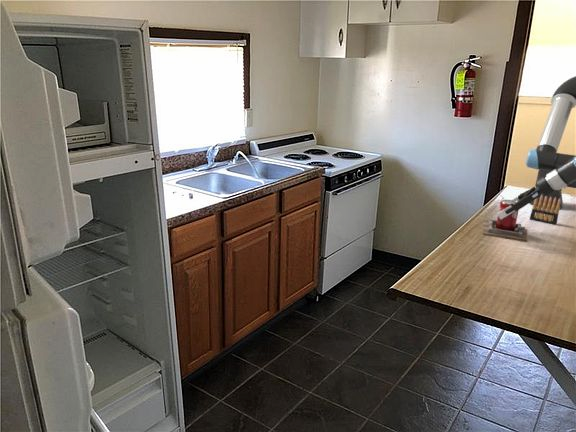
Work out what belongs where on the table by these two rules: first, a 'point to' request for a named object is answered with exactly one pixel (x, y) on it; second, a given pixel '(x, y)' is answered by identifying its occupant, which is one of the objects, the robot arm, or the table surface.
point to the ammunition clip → (547, 213)
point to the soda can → (507, 217)
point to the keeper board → (504, 231)
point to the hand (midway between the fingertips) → (501, 212)
